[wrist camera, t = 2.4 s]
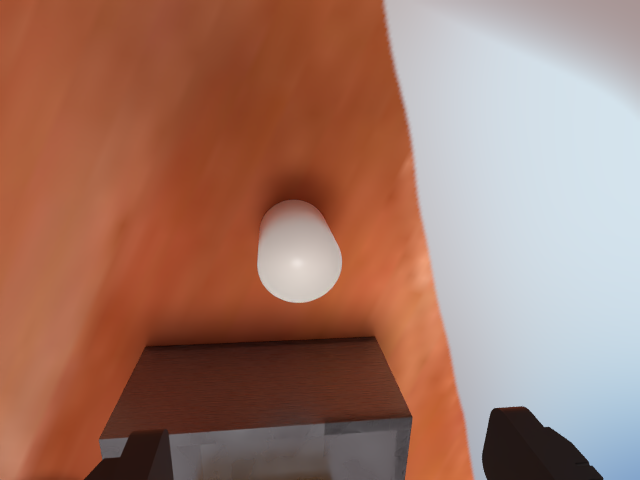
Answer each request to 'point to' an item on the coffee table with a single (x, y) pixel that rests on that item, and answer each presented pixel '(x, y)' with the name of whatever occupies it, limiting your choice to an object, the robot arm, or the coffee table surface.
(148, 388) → the grey box with opening
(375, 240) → the coffee table surface
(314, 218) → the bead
